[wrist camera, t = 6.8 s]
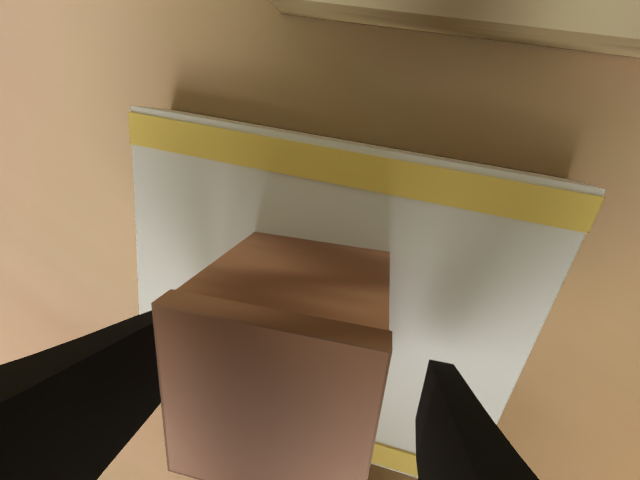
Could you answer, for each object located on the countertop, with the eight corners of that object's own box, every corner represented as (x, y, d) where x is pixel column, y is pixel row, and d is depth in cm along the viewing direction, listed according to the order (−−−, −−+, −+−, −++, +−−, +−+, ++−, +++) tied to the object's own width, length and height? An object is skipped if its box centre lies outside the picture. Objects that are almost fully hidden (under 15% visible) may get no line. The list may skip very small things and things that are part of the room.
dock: (567, 178, 10) (608, 189, 8) (454, 446, 14) (465, 495, 12) (170, 109, 12) (128, 105, 10) (170, 362, 16) (141, 393, 14)
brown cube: (391, 250, 10) (392, 351, 6) (371, 369, 12) (358, 525, 7) (253, 230, 11) (150, 303, 6) (251, 344, 12) (167, 470, 8)
